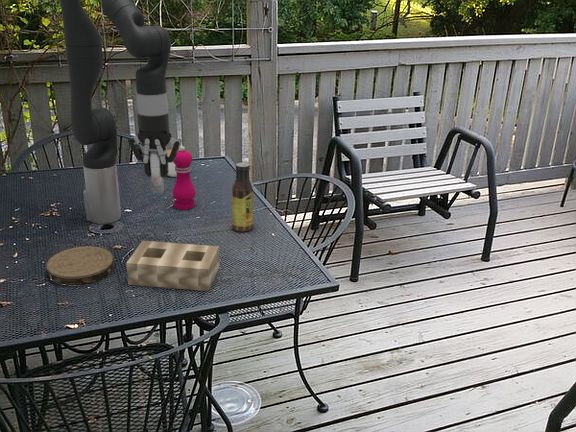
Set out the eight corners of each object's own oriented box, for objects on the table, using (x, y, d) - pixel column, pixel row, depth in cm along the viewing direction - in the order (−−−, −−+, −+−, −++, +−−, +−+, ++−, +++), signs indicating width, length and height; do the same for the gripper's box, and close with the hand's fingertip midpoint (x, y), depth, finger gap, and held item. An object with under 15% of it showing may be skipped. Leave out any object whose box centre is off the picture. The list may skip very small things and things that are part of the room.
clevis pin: (147, 193, 150) (144, 149, 145) (152, 187, 154) (149, 144, 149) (163, 194, 150) (160, 150, 145) (168, 188, 154) (165, 145, 149)
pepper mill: (168, 208, 184) (165, 147, 176) (180, 200, 190) (178, 141, 182) (188, 212, 182) (185, 151, 173) (200, 203, 188) (198, 144, 179)
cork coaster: (91, 250, 157) (90, 240, 156) (127, 270, 148) (126, 260, 147) (35, 272, 146) (34, 261, 145) (70, 294, 137) (69, 284, 136)
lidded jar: (160, 179, 206) (158, 154, 202) (160, 169, 216) (158, 145, 212) (190, 178, 208) (189, 153, 205) (189, 168, 218) (188, 144, 214)
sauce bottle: (249, 233, 169) (250, 169, 161) (229, 231, 170) (228, 167, 162) (255, 224, 175) (256, 162, 167) (235, 222, 176) (235, 160, 168)
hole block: (128, 284, 141) (126, 263, 139) (144, 260, 152) (142, 240, 150) (209, 291, 140) (208, 269, 137) (219, 266, 151) (218, 246, 148)
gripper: (119, 112, 140) (125, 179, 147) (176, 116, 139) (179, 183, 146) (130, 105, 147) (135, 169, 154) (184, 108, 146) (187, 173, 153)
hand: (157, 175), depth 150 cm, fingers closed on clevis pin, 3 cm apart
